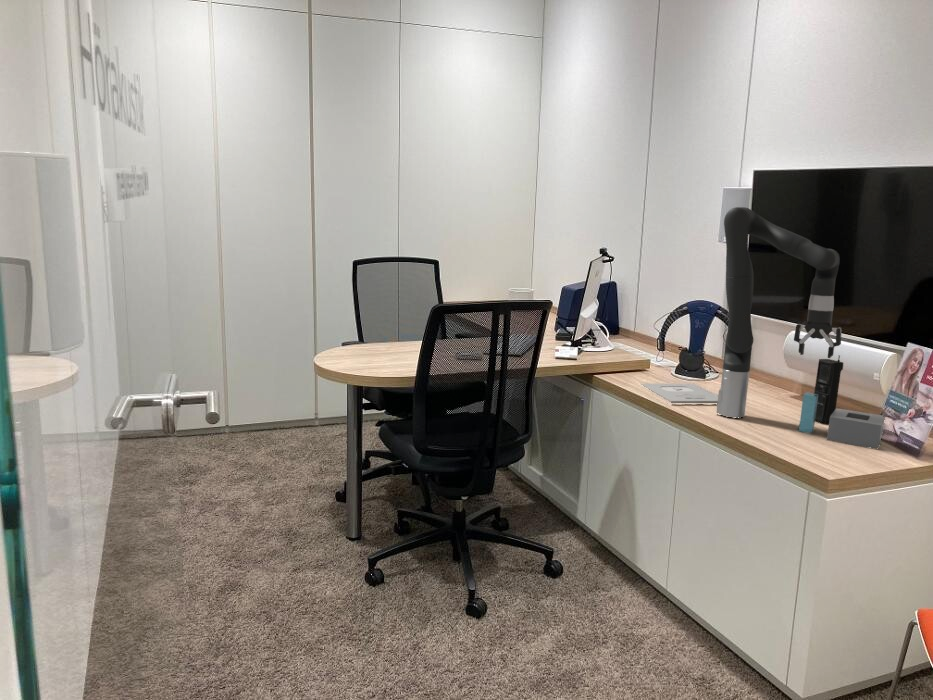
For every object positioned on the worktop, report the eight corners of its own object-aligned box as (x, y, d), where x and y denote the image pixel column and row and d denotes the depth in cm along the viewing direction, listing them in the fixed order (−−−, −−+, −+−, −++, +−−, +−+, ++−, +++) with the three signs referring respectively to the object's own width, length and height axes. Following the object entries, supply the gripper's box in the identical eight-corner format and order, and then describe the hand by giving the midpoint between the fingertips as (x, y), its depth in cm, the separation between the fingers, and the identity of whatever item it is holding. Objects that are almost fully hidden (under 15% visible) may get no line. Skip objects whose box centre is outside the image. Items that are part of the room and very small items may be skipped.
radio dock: (826, 440, 243) (829, 416, 242) (833, 430, 255) (836, 408, 254) (878, 449, 235) (881, 425, 234) (882, 439, 247) (885, 416, 246)
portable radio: (806, 418, 270) (814, 352, 266) (818, 417, 272) (827, 351, 268) (823, 424, 263) (832, 356, 258) (835, 423, 265) (845, 355, 261)
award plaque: (670, 406, 281) (671, 401, 281) (639, 388, 310) (639, 383, 310) (729, 406, 286) (730, 400, 285) (692, 388, 315) (693, 383, 314)
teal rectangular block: (798, 431, 252) (803, 394, 250) (801, 428, 256) (806, 392, 254) (811, 433, 250) (816, 396, 248) (813, 430, 254) (818, 394, 252)
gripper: (795, 307, 247) (790, 355, 250) (842, 311, 239) (836, 360, 242) (800, 306, 253) (795, 352, 256) (846, 309, 245) (840, 357, 248)
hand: (815, 356), depth 249 cm, fingers open, 8 cm apart
